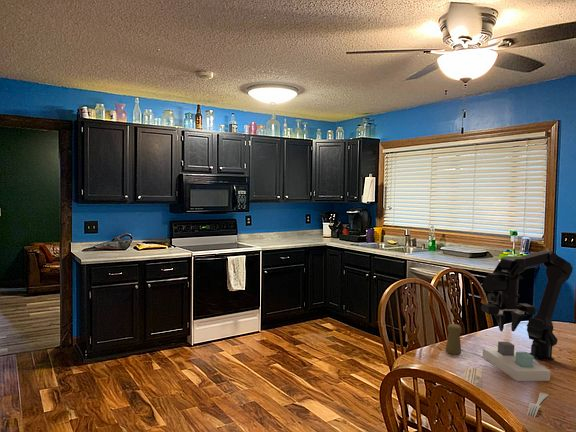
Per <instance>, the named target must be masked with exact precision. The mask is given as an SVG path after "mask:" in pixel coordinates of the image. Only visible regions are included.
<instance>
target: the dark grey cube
mask: <svg viewBox="0 0 576 432" xmlns="http://www.w3.org/2000/svg"><path fill="white" fill-rule="evenodd" d="M497 348H498V352H499V353H500V354H502V355H503V356H514V349H515V344H513V343H512V342H510V341H498V343H497Z"/></svg>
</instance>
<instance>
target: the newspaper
mask: <svg viewBox="0 0 576 432" xmlns="http://www.w3.org/2000/svg"><path fill="white" fill-rule="evenodd" d="M462 378H464V379H466V380H467V381H469V382H471V383H472V384H474V385H476V386H477V387H479V388H480V389H481V388H482V379H483V371H482V370H481V369H479V368H477V367H471V366H466V367H465V366H464V369H463V374H462Z"/></svg>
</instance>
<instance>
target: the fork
mask: <svg viewBox="0 0 576 432" xmlns="http://www.w3.org/2000/svg"><path fill="white" fill-rule="evenodd" d="M548 397H549V394H547V393H544V392H540V393H539V394H538V398H537V402H536V403H533V402H530V403H529V405H528V409H527V412H526V413H527V414H526V415H527V417H528V416H529V418H533V419H535V418H536V416H537V414H538V411H539V409H540V407H541V403H542V402H543V401H544V400H545V399H546V398H548Z"/></svg>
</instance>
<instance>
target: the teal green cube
mask: <svg viewBox="0 0 576 432" xmlns="http://www.w3.org/2000/svg"><path fill="white" fill-rule="evenodd" d="M529 353H530V352H528V351H518V352H516V359H515V363H516V364H518V365H519V366H521V367H533V361H534V358H535V357H534V356H532V355H531V354H529Z"/></svg>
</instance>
